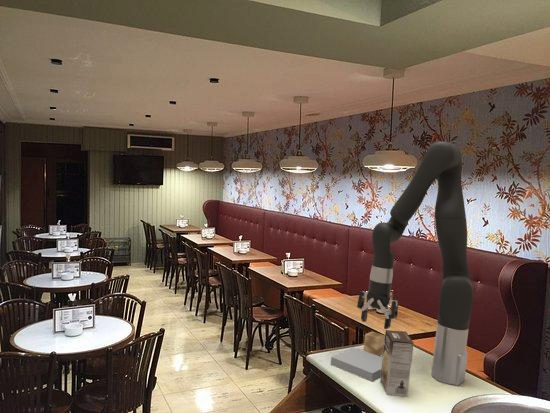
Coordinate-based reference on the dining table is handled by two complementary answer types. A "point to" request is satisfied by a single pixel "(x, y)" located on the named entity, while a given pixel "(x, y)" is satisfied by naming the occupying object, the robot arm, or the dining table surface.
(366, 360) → the slate base
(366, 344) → the oak block
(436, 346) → the robot arm
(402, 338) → the coffee box
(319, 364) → the dining table surface
